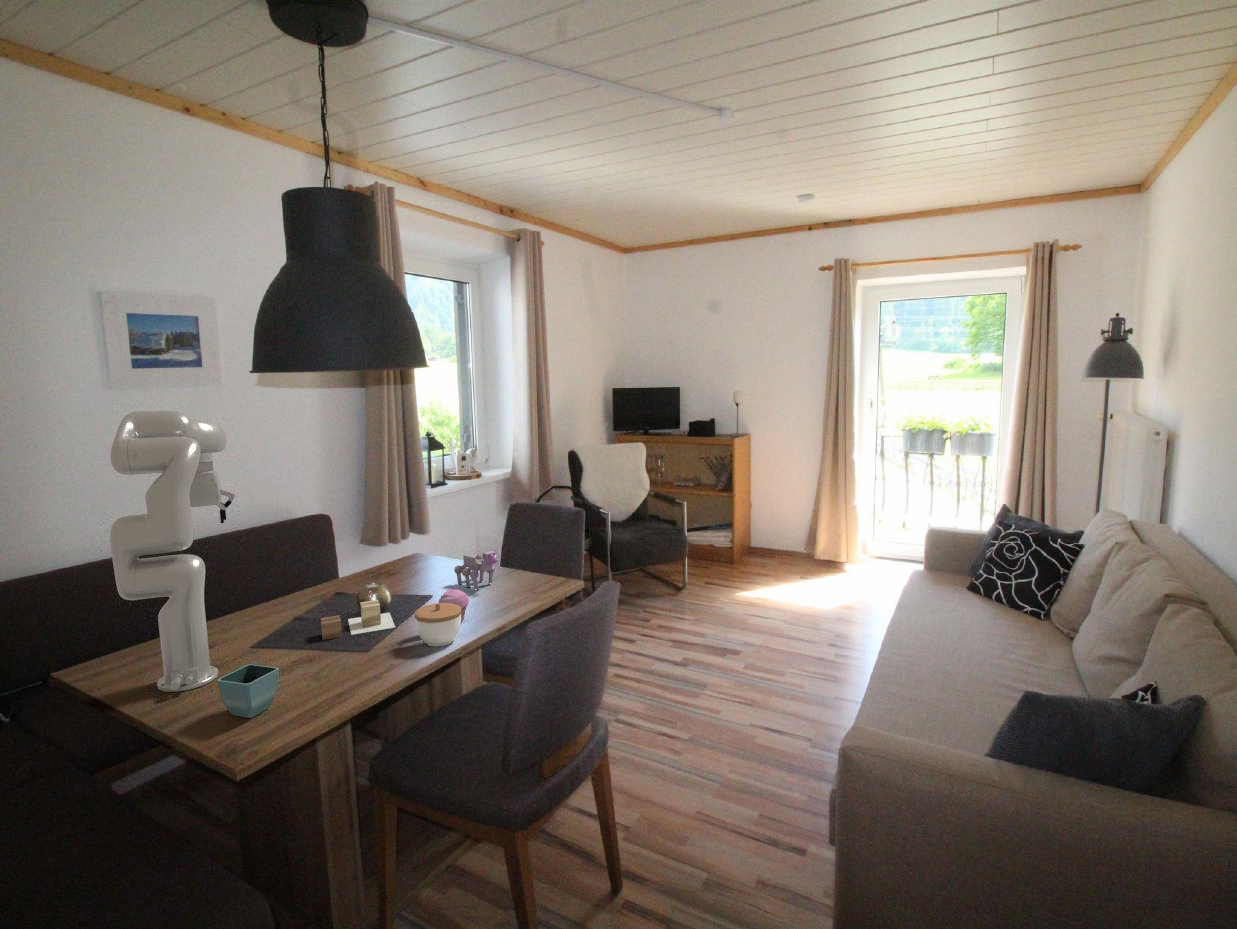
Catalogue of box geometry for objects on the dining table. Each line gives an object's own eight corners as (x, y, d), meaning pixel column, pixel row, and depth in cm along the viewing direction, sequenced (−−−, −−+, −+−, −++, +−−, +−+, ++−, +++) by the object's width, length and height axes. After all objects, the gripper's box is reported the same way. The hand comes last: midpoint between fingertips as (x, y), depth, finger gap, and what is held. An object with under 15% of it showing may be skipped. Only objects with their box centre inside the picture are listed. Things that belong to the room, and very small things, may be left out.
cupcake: (453, 615, 204) (451, 584, 203) (475, 619, 200) (474, 587, 199) (433, 625, 196) (432, 593, 195) (456, 629, 192) (455, 596, 191)
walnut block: (342, 641, 185) (340, 620, 184) (322, 644, 183) (321, 623, 182) (341, 635, 189) (339, 615, 189) (322, 638, 187) (320, 618, 186)
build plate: (395, 631, 192) (395, 627, 192) (351, 638, 186) (351, 634, 186) (389, 616, 204) (389, 612, 204) (348, 622, 199) (347, 619, 199)
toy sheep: (512, 587, 231) (509, 550, 228) (488, 597, 223) (485, 558, 220) (476, 577, 243) (473, 542, 241) (452, 586, 235) (449, 549, 233)
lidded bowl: (437, 630, 192) (435, 594, 190) (472, 637, 186) (470, 599, 185) (406, 646, 181) (404, 607, 179) (441, 653, 175) (439, 614, 174)
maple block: (381, 624, 194) (379, 604, 193) (363, 627, 192) (361, 607, 191) (379, 618, 198) (378, 599, 198) (361, 621, 196) (360, 602, 196)
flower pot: (252, 700, 151) (248, 663, 150) (283, 705, 148) (280, 667, 147) (219, 719, 142) (215, 679, 141) (251, 724, 140) (247, 684, 139)
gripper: (161, 471, 188) (167, 530, 190) (231, 467, 196) (236, 523, 198) (165, 468, 194) (170, 525, 196) (232, 464, 202) (237, 519, 204)
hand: (203, 524), depth 197 cm, fingers open, 9 cm apart
